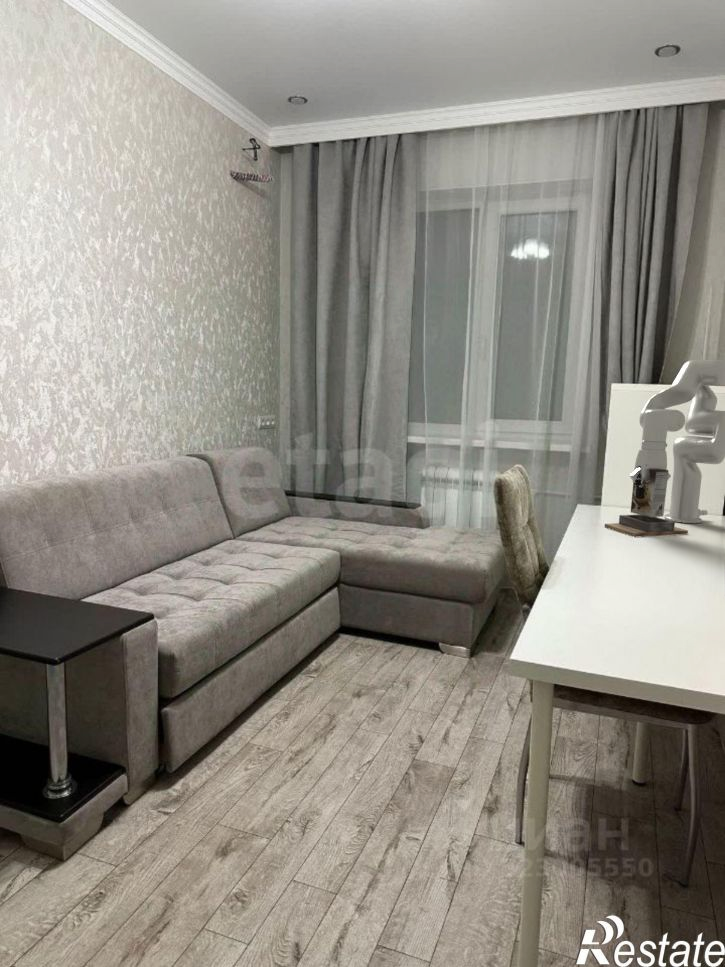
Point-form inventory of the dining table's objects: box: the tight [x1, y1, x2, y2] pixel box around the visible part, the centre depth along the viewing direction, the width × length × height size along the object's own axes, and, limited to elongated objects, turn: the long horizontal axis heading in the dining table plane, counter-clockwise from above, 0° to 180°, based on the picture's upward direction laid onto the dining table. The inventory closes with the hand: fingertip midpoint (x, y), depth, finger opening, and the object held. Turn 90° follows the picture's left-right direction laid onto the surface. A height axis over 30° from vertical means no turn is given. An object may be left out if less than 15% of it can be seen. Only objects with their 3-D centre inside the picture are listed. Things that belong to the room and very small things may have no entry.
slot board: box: [604, 514, 689, 538], centre depth 225 cm, size 22×15×4 cm
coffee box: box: [630, 469, 669, 518], centre depth 223 cm, size 9×6×16 cm
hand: (648, 497), depth 223 cm, fingers closed on coffee box, 6 cm apart
